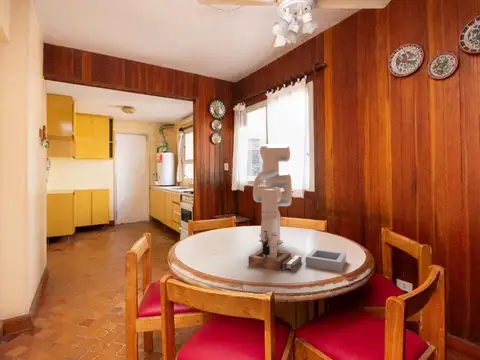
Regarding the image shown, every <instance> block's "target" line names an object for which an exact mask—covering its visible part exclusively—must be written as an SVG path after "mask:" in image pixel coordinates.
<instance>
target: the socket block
mask: <svg viewBox="0 0 480 360" xmlns="http://www.w3.org/2000/svg"><path fill="white" fill-rule="evenodd" d="M247 258H248V259H247V261H248V266H250V267H256V268H261V269H267V270H271V271H275V272H280V271H281V270H282V271H284V272H285V271H286V270H287V269H288V268H287V263H288V262H289V261H290V260H291V259H292V258H293V257H292V253H291V252H289V251H283V250H282V251H281V250H277V259H271V258H266V257H263V248H261V249H259V250H258V251H255V252H254V253H252V254H250V255H249V256H247ZM301 265H302V262H301V259H298V260H296V261H295V262H294V263H293V264H292V265H291V269H290V271H291V273H295V271H297V270H298V269H299V268H300V267H301Z"/></svg>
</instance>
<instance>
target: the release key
mask: <svg viewBox="0 0 480 360" xmlns="http://www.w3.org/2000/svg"><path fill="white" fill-rule="evenodd" d="M302 258H303V257H302V255H296V254H295V255H294V257H292V259H291V260H290V261H289V262H288V263H287V269H290V270H291V265H292V264H293V263H294V262H295V261H296V260H298V259H301V263H302V261H303V259H302Z"/></svg>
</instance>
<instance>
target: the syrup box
mask: <svg viewBox="0 0 480 360" xmlns="http://www.w3.org/2000/svg"><path fill="white" fill-rule="evenodd" d="M265 239H268V238H267V236H266V238H265ZM266 242H268V241H266ZM269 246H270V255H265V254H263V257H266V258H271V259H277V251H278V244H277V233H276V232H275V233H273V238H272V240H270V242H269Z"/></svg>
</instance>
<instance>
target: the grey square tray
mask: <svg viewBox="0 0 480 360" xmlns="http://www.w3.org/2000/svg"><path fill="white" fill-rule="evenodd" d="M346 262H347V253H346V252H341V251H335V250H333V251H332V250H326V249H320V248H314V249H313V250H311V251H310V252H309V253H308V254H307V255H306V256H305V266H306V267H310V268H311V267H312V268H317V269H323V270H328V271H334V272H342V270H343V268H344V266H345V264H346Z"/></svg>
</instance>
